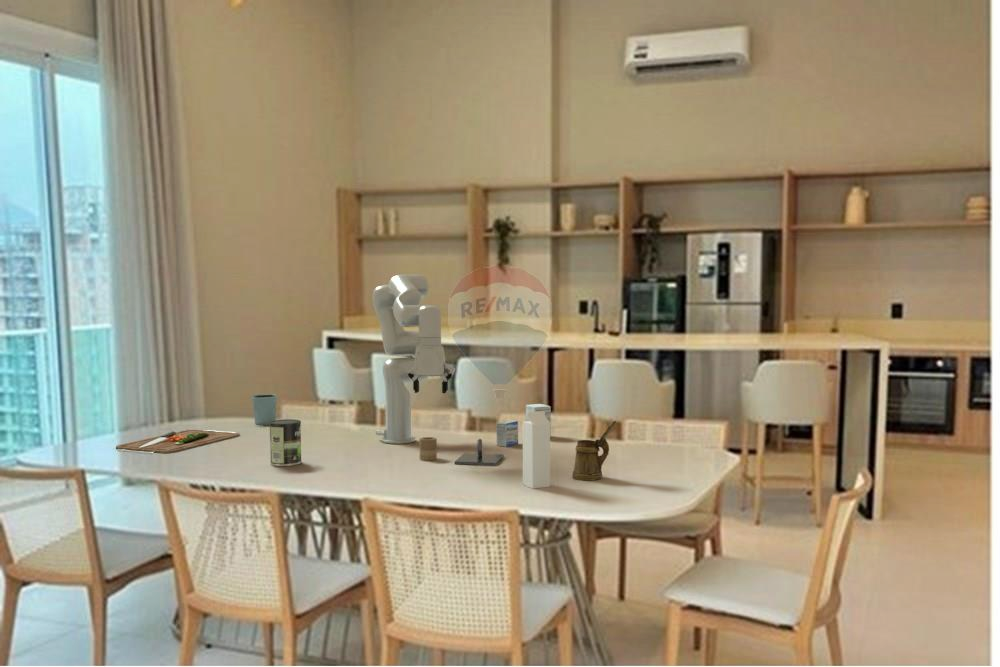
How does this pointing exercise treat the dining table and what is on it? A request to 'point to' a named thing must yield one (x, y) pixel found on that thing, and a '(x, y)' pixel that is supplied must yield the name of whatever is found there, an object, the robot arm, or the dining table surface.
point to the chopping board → (176, 441)
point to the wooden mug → (591, 457)
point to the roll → (428, 448)
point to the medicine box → (507, 433)
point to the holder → (479, 457)
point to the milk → (536, 450)
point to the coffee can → (285, 442)
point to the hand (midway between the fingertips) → (430, 392)
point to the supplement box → (540, 408)
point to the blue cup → (264, 408)
